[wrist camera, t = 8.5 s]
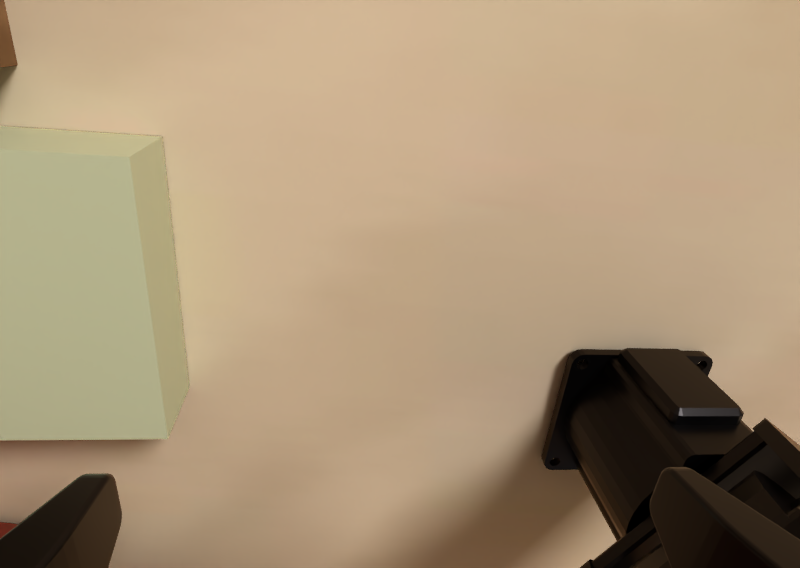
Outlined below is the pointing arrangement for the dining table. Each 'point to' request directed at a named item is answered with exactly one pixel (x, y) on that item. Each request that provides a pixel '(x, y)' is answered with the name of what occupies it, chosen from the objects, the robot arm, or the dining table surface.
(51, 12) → the dining table surface
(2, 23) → the walnut block
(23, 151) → the block
